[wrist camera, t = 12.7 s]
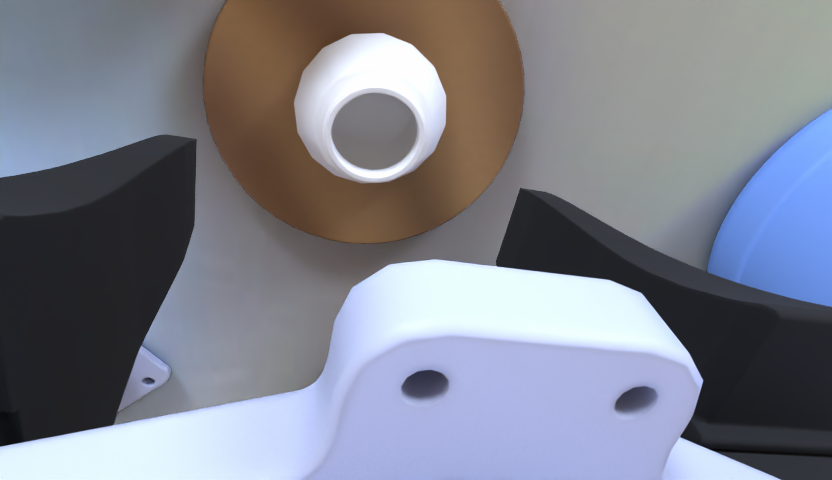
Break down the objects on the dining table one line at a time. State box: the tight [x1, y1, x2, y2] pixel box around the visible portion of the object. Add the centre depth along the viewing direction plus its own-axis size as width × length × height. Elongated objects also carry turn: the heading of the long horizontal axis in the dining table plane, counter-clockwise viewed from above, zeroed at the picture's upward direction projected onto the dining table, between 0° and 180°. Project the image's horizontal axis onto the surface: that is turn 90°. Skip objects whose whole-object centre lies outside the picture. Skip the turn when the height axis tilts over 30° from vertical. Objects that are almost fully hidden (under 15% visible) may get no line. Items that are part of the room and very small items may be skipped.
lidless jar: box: [294, 33, 446, 184], centre depth 18 cm, size 5×3×5 cm
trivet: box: [203, 0, 524, 244], centre depth 20 cm, size 11×11×1 cm
